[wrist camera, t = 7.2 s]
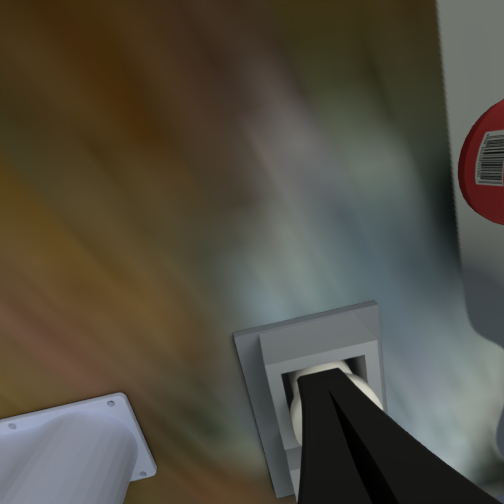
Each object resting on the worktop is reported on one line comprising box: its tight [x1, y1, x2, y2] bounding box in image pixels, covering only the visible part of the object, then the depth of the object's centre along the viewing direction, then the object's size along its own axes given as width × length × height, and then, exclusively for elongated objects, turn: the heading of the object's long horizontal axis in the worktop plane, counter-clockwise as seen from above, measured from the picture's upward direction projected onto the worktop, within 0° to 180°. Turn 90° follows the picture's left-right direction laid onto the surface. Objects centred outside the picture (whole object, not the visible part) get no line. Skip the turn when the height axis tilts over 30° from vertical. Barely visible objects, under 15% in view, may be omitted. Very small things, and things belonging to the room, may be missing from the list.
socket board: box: [234, 301, 388, 502], centre depth 21 cm, size 10×16×4 cm, turn 12°
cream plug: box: [287, 360, 383, 446], centre depth 18 cm, size 5×5×4 cm
